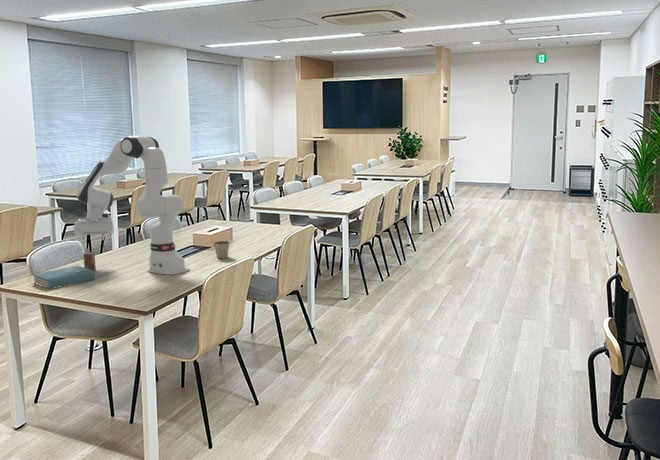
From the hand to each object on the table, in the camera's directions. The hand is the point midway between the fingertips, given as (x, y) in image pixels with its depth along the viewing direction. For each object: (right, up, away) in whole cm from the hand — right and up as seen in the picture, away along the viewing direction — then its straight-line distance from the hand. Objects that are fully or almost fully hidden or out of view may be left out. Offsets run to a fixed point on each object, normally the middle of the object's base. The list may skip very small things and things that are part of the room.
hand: (92, 239), depth 322 cm
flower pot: (+65, -11, +23) cm, 70 cm away
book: (-3, -21, -27) cm, 34 cm away
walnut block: (+2, -16, -8) cm, 19 cm away
